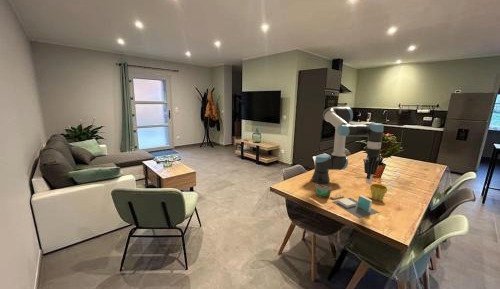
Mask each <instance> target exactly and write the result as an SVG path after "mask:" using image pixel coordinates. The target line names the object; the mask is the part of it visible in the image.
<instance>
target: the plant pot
mask: <svg viewBox="0 0 500 289" xmlns="http://www.w3.org/2000/svg"><path fill="white" fill-rule="evenodd" d="M369 190H370V191H371V194H370V195H371V200H372V199H373V200H375V201H378V202H381V201H383V200H384V197H385V194H387V192H388V187H387V185H383V184H380V183H372V184H370V188H369Z"/></svg>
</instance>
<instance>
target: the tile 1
mask: <svg viewBox="0 0 500 289" xmlns="http://www.w3.org/2000/svg"><path fill="white" fill-rule="evenodd" d="M347 198H348V197H346V198H339V199H337V201H338V203H339V204H341V205H343V206H344V207H346V208H349V207H353V206H356V203H355V202H353V201H351V200H349V199H347Z"/></svg>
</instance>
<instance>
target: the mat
mask: <svg viewBox="0 0 500 289" xmlns="http://www.w3.org/2000/svg"><path fill="white" fill-rule="evenodd" d="M346 198H347V199H349V200H351V201H353V202H355V203H356V206H353V207H349V208H346V207H344V206H343V205H341V204H339V203H338V200H334V201H331V203H332V204H333V205H335V206H337V207H339V208H341V209H342V210H344V211H346V212H347V213H349V214H351V215H353V216H354V217H356V218H358V219H361V218H362V219H363V218H365V217H369V216H372V215H375V214H379V213H380V211H378V210H375V209H374V208H372V207H371V211H370V212H369V213H368V212H367V211H365V210H363V209H361V208H359V207H358V200H357V199H354V198H352V197H346Z"/></svg>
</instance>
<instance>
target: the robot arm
mask: <svg viewBox="0 0 500 289" xmlns="http://www.w3.org/2000/svg"><path fill="white" fill-rule="evenodd" d="M353 113H354V112H353V110H352V108H351V107H349V106H329V107H327V108H326V109H325V110H323V113H322V118H323V120H324V121H325V122H327V123H330V124H331V125H332V126H333V127H334V128H335V133H334V144H333V152H332V153H331V155H329V154H327V153H326V154H324V153H322V154H321V153H320V154H317V155H316V156H315V160H314V172H313V174H312V176H311V181H312V182H314V183H316V182H317V183H318V184H321V185H326V184H329V183H330V180H331V179H330V175H329V171H332V170H333V171H334V170H335V171H342V170H346V169H347V167H349V166H348V165H349V158H348V157H347V155H346V154H345V150H346V141H347V140H346V137H365V138H366V137H367V144H366V150H365V152H366V153H365V154H366V158H364V159H363V160H362V161H363V165H364V166H363V167H364V173H365V174H366V182H365V183H366V184H368V185H371V184H373V177H374V175H376V173H377V170H378V167H379V164H380V162H381V158H380V157H379V156H380V155H381V148H382V142H383V135H384V126H385V125H384V124H383V123H378V122H377V123H375V122H372V123H370V124H368V125H367V124H350V122H351V121H352V120H353V118H354V114H353Z"/></svg>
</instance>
